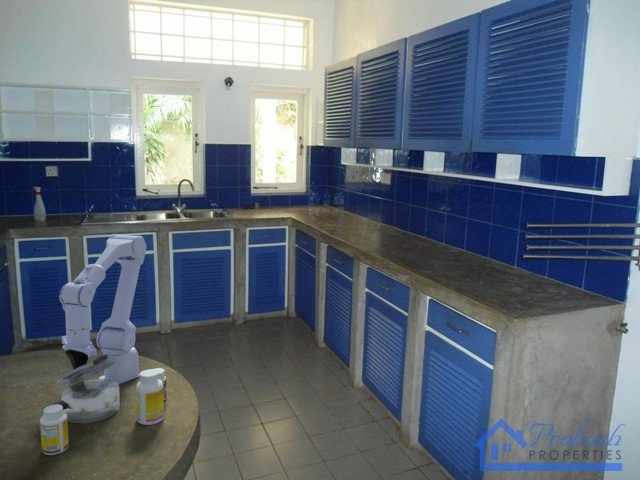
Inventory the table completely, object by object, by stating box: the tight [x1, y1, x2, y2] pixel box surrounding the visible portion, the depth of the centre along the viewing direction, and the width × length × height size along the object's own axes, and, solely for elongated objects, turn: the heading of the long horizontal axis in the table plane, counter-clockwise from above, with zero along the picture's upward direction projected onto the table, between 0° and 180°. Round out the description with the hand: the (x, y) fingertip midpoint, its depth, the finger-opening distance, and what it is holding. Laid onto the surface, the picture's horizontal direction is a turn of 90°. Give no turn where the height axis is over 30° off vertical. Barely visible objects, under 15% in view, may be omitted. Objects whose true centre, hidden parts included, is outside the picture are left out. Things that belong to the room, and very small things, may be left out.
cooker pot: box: [41, 378, 121, 424], centre depth 134 cm, size 19×14×6 cm
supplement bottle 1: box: [39, 404, 70, 456], centre depth 117 cm, size 6×6×10 cm
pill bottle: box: [154, 367, 168, 401], centre depth 143 cm, size 5×5×8 cm
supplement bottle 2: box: [135, 368, 165, 426], centre depth 131 cm, size 7×7×13 cm
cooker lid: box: [56, 354, 115, 387], centre depth 135 cm, size 15×18×1 cm
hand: (80, 374), depth 138 cm, fingers closed, pressing on cooker lid
